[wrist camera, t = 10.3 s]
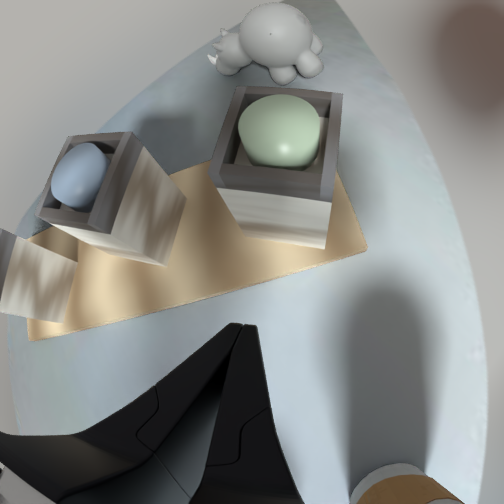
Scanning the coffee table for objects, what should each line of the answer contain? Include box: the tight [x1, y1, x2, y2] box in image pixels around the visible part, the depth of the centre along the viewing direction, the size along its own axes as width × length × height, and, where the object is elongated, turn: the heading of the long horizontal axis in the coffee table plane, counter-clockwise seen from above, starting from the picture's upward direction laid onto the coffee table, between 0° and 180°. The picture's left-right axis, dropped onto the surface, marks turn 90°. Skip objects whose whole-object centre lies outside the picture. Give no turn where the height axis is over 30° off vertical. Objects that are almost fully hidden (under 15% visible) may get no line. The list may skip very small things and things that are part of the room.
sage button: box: [238, 94, 320, 171], centre depth 15 cm, size 4×4×2 cm
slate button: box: [51, 143, 111, 213], centre depth 17 cm, size 4×4×2 cm
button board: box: [0, 86, 368, 341], centre depth 21 cm, size 11×33×11 cm, turn 104°
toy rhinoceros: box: [208, 2, 324, 85], centre depth 27 cm, size 7×12×8 cm, turn 78°
